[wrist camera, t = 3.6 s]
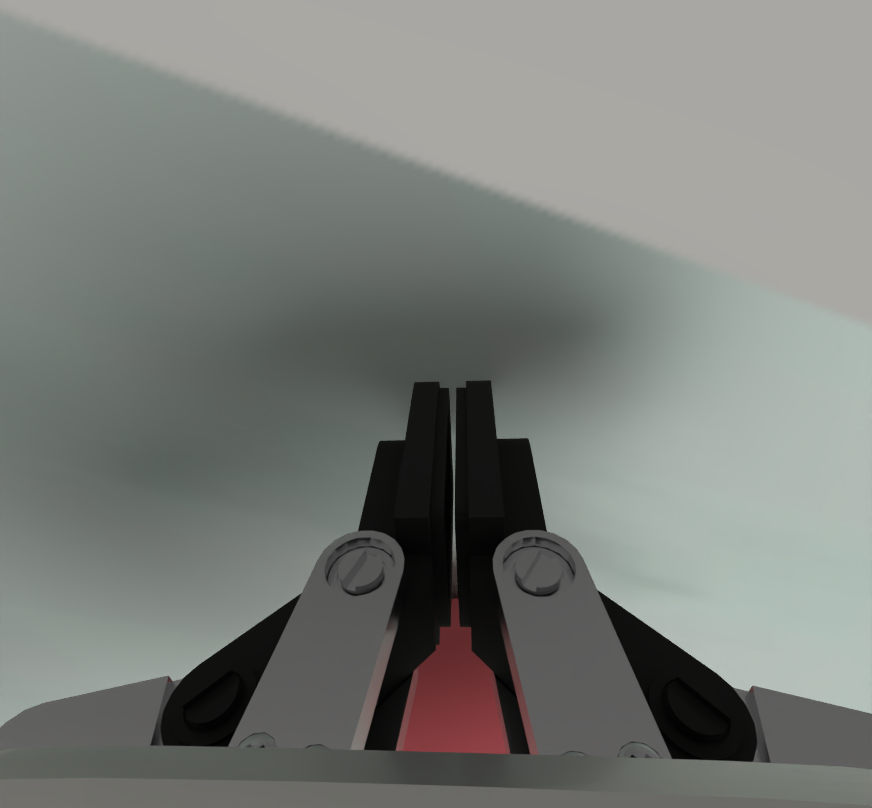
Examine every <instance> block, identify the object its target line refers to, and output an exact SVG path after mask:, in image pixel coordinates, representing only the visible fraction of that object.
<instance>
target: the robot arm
mask: <svg viewBox="0 0 872 808" xmlns="http://www.w3.org/2000/svg"><path fill="white" fill-rule="evenodd" d="M455 535H456V556H457V578H458V600H459V622H460V627H471V646H472V652H473V653H474V654H476V655H477V656H478V657H479V658H480V659H481V660H482V661H483V662H484V663H485V664H486V665H487V666H488V667H489V668H490V669H491V679H492V684H493V689H494V694H495V699H496V704H497V709H498V715H499V720H500V725H501V730H502V735H503V740H504V745H505V750H506V754H492V753H455V752H418V751H403V746H404V741H405V737H406V732H407V728H408V723H409V718H410V714H411V709H412V705H413V700H414V695H415V691H416V686H417V682H418V677H419V665H421V664H422V663H423V662H424V661H425V660H426V659H427V658H428V657H429V656H430V655H431V654H432V653H433V652H435V651H436V645H440V627H451V597H452V542H453V465H452V443H451V421H450V399H449V388H440V384H439V382H415V383H414V387H413V394H412V400H411V406H410V413H409V419H408V425H407V432H406V438H405V440H397V441H380V442H379V444H378V447H377V451H376V456H375V460H374V464H373V469H372V473H371V477H370V482H369V486H368V490H367V495H366V499H365V503H364V508H363V512H362V516H361V521H360V525H359V529H358V531H357V532H353V533H349V534H346V535H344V536H343V537H341V538H339V539H337V540H335V541H334V542H333V543H331V544H330V545H329V546H328V547H327V548H326V549H325V550H324V551H323V553H322V554H321V556H320V557H319V559H318V561H317V563H316V565H315V567H314V569H313V571H312V573H311V575H310V577H309V579H308V581H307V584H306V586H305V588H304V590H303V592H302V593H301V594H300V595H298V596H297V597H296V598H294V599H293V600H291V601H290V602H288V603H287V604H285V605H284V606H283V607H281V608H280V609H278V610H277V611H275V612H274V613H273V614H271V615H270V616H268V617H267V618H265V619H264V620H263V621H261V622H260V623H258V624H257V625H255V626H254V627H253V628H251V629H250V630H248V631H247V632H245V633H244V634H243V635H241V636H240V637H238V638H237V639H235V640H234V641H232V642H231V643H230V644H228V645H227V646H225V647H224V648H222V649H221V650H220V651H218V652H217V653H215V654H214V655H212V656H211V657H210V658H208V659H207V660H205V661H204V662H202V663H201V664H200V665H198V666H197V667H196V668H195V669H193V670H192V671H191V672H190V673H189V674H188V675H186V676H185V677H184V678H183V679H181V680H176V681H172V680H171V679H170V677H169V676H165V677H160V678H156V679H151V680H147V681H142V682H137V683H133V684H128V685H124V686H119V687H115V688H110V689H106V690H101V691H96V692H92V693H87V694H83V695H78V696H74V697H69V698H64V699H60V700H55V701H51V702H46V703H42V704H40V705H37V706H34V707H32V708H29V709H26V710H24V711H23V712H21V713H20V714H18V715H17V716H15V717H14V718H12V719H11V720H9V721H7V722H6V723H5V724H4V725H3V726H2V727H1V728H0V808H872V714H870V713H866V712H862V711H858V710H853V709H849V708H845V707H841V706H836V705H832V704H828V703H824V702H820V701H815V700H811V699H807V698H803V697H798V696H794V695H790V694H786V693H782V692H777V691H773V690H769V689H765V688H760V687H756V686H752V687H751V689H750V690H749V692H748V691H744V690H740V689H736V688H733V687H732V686H730V685H729V684H728V683H727V682H726V681H725V680H723V679H722V678H721V677H720V676H719V675H718V674H716V673H715V672H714V671H712V670H711V669H709V668H708V667H706V666H705V665H704V664H702V663H701V662H699V661H698V660H696V659H695V658H694V657H692V656H691V655H689V654H688V653H687V652H685V651H684V650H682V649H681V648H679V647H678V646H677V645H675V644H674V643H672V642H671V641H669V640H668V639H667V638H665V637H664V636H662V635H661V634H659V633H658V632H657V631H655V630H654V629H652V628H651V627H649V626H648V625H647V624H645V623H644V622H642V621H641V620H639V619H638V618H637V617H635V616H634V615H632V614H631V613H629V612H628V611H627V610H625V609H624V608H622V607H621V606H619V605H618V604H617V603H615V602H614V601H612V600H611V599H609V598H608V597H607V596H605V595H604V594H602V593H601V592H599V591H598V590H597V589H596V587H595V584H594V582H593V580H592V578H591V575H590V573H589V571H588V569H587V566H586V564H585V562H584V560H583V558H582V556H581V555H580V553H579V552H578V550H577V549H576V548H575V547H574V546H573V545H572V544H571V543H569V542H568V541H567V540H566V539H564V538H562V537H560V536H558V535H556V534H554V533H550V532H547V530H546V525H545V520H544V514H543V509H542V504H541V499H540V494H539V489H538V483H537V478H536V473H535V468H534V463H533V457H532V452H531V447H530V443H529V440H528V438H521V439H497V436H496V426H495V416H494V407H493V397H492V387H491V380H490V381H466V388H457V390H456V461H455Z"/></svg>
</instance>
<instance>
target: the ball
mask: <svg viewBox="0 0 872 808" xmlns="http://www.w3.org/2000/svg"><path fill="white" fill-rule="evenodd" d="M403 751H418V752H455V753H492V754H506V750H505V745H504V740H503V735H502V730H501V725H500V720H499V715H498V709H497V704H496V699H495V694H494V689H493V684H492V679H491V669H490V668H489V667H488V666H487V665H486V664H485V663H484V662H483V661H482V660H481V659H480V658H479V657H478V656H477V655H476V654H474V653H473V652H472V646H471V627H460V622H459V600H458V598H452V599H451V627H440V645H436V651H435V652H433V653H432V654H431V655H430V656H429V657H428V658H427V659H426V660H425V661H424V662H423V663H422V664H421V665H419V677H418V682H417V686H416V691H415V695H414V700H413V705H412V709H411V714H410V718H409V723H408V728H407V732H406V737H405V741H404V746H403Z"/></svg>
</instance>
